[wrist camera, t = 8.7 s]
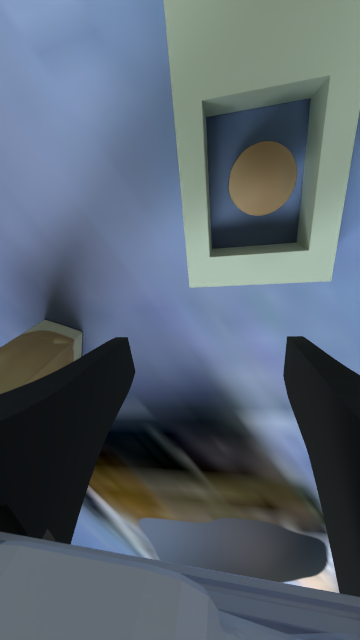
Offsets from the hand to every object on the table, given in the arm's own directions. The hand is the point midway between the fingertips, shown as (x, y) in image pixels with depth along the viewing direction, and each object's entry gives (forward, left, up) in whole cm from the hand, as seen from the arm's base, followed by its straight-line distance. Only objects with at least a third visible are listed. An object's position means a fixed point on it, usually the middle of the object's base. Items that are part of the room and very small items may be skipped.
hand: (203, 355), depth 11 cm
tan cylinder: (-3, -7, -10) cm, 13 cm away
